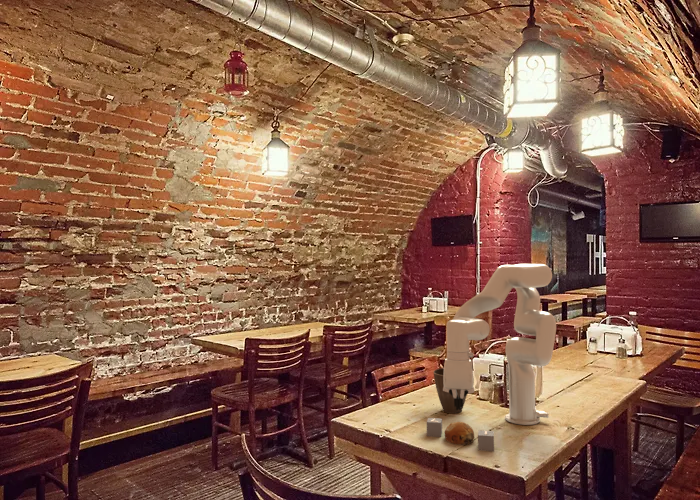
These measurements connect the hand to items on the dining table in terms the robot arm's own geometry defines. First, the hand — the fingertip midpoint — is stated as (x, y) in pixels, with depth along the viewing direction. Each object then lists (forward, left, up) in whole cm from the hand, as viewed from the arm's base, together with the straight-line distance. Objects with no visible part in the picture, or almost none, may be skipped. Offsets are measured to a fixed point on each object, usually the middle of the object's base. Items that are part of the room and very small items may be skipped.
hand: (458, 408), depth 183 cm
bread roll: (0, 0, -11) cm, 11 cm away
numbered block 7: (+9, -4, -11) cm, 15 cm away
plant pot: (+5, -34, -11) cm, 36 cm away
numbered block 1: (-9, +6, -11) cm, 15 cm away
